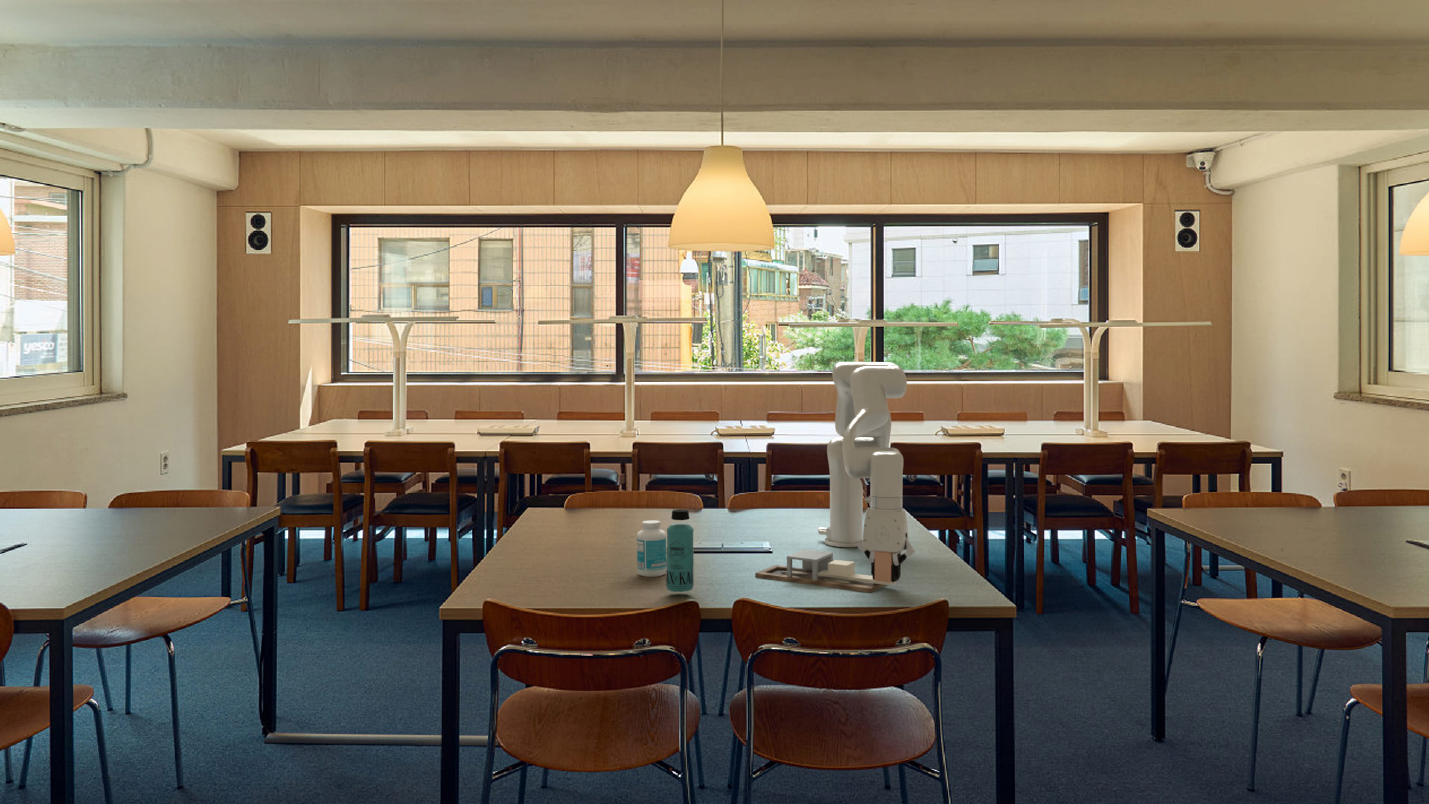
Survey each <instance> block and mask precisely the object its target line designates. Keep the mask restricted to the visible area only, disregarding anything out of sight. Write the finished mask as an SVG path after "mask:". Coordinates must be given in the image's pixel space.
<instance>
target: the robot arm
mask: <svg viewBox="0 0 1429 804" xmlns="http://www.w3.org/2000/svg"><path fill="white" fill-rule="evenodd" d="M831 375H832V380H833V385H834V386H835V389H836V394H837V397H836V408H835V418H834V428H835V431H836V433H837V435H839V436H838V437H834V438H832V439H831V440H830V441H828V444H827V446H826V447H827V448H826V454H827V461H828V468H829V527H821V526H819V527H818V530H817V533H818V535H822V536H826V537H825V539H824V544H825V545H827V546H829V547H838V548H857V549H859V551H861V552H862V553H863V554H864V555H865V556H866V558H867V559H868V560H869V563H870V565H871V566H870V576H873V579H875V551H878V552H887V553H892V556H893V565H892V567H891V581H892V582H896V583H897V581H899V580H900V578H901V574H902V573H901V572H902V571H901V564H903V562H904V561H906V559H908V558H909V557H911V556H912V555H914V554H916V551H915V549H914V547H913V546H912V544H911V543H910V541H909V528H908V527H909V525H908V521H907V520H908V519H907V518H908V517H907V514H906V509H903V485H904V484H903V482H904V481H903V475H904V474H903V471H904V456H903V455H902V453H901V451H900V450H899V449H898V448H895V447H889V446H890V438H891V430H892V416H891V412H890V410H889V406H888V401H887V399H901V398H903V397H904V396H905V394H906V393H907V392H906V391H907V389H908V382H907V377H906V374H905V371H904V370H903V368H902V367H901V366H900V365H897V364H896V363H894V362H888V361H887V362H886V361H885V362H883V361H880V362H879V361H870V362H869V361H838V362H837V363H836V364H834V366H833V368H832V374H831ZM861 479H870V483H869V484H870V494H869V496H865V498H864V497H863V496H864V494H863V493H864V489H863V488H864V487H863V485H864V484H863V482H862V480H861ZM863 498H864V499H863ZM863 502H865V503H868V504H869V507H867V508H866V511H865V515H864V514H863V511H864V510H863V507H864V506H863V505H864V504H863ZM863 515H864V517H863ZM863 518H864V520H863ZM863 521H864V522H863ZM903 551H905V552H904V553H902V552H903Z"/></svg>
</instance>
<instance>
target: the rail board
mask: <svg viewBox="0 0 1429 804" xmlns="http://www.w3.org/2000/svg"><path fill="white" fill-rule="evenodd" d="M818 572H821V571H818ZM754 575H755V578H761V579H767V580H774V581H775V580H776V581H782V582H788V583H790V582H791V583H798V584H803V585H805V584H806V585H811V586H819V587H827V588H834V589H840V590H849V591H855V592H862V593H870V594H871V593H874V592H875V591H876V590H879V589H880V588H882V587H884V586H885V585H883V584H876V583H871V582H863V581H856V580H848V579H840V578H833V577H825V576H818V580H812V570H810V569H803V568H802V567H795V566H794V567H793V566H792V577H787V565H780V564H774V565H773V566H770V567H767V568H764V569H762V570H759V571H758V572H757V571H756V572H755V574H754Z"/></svg>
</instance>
